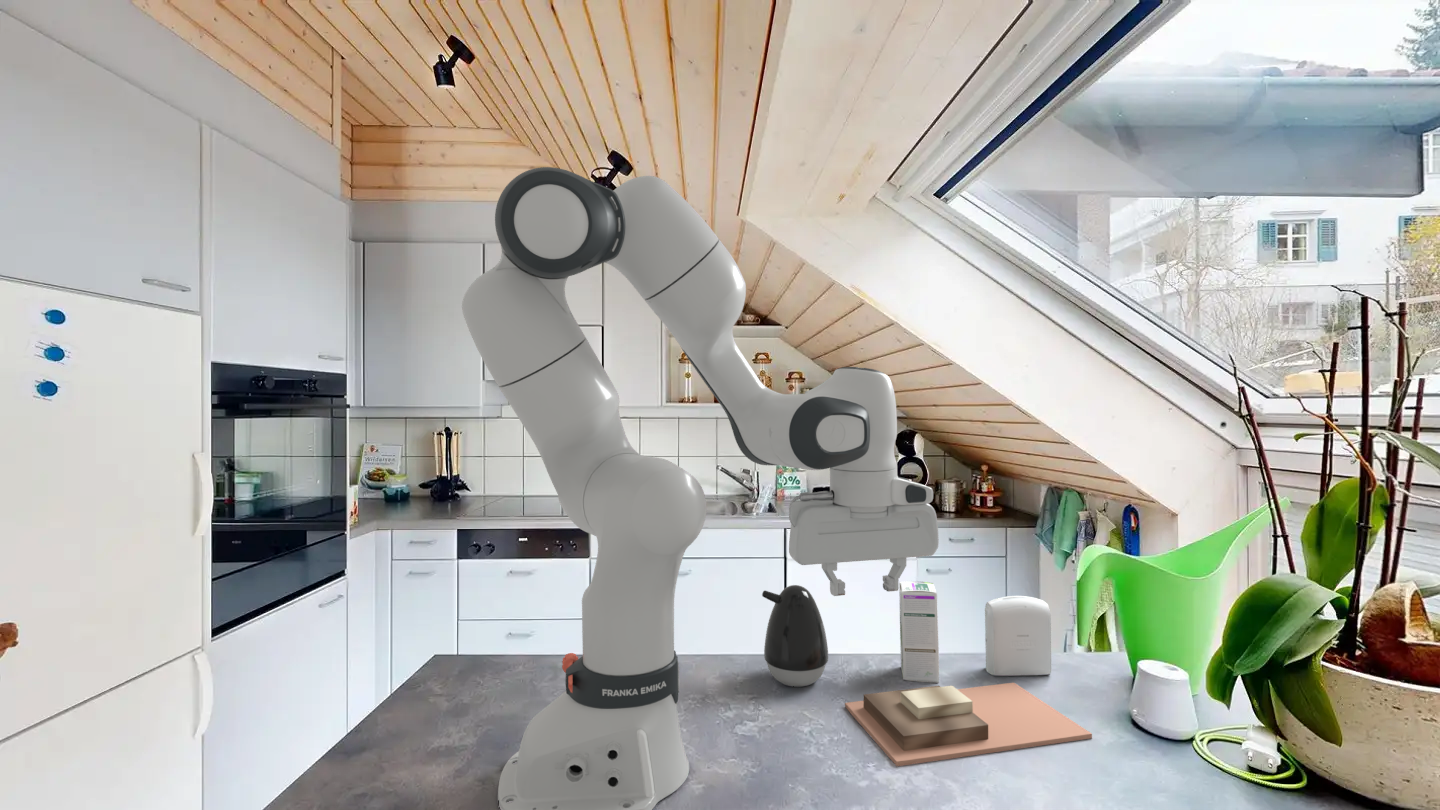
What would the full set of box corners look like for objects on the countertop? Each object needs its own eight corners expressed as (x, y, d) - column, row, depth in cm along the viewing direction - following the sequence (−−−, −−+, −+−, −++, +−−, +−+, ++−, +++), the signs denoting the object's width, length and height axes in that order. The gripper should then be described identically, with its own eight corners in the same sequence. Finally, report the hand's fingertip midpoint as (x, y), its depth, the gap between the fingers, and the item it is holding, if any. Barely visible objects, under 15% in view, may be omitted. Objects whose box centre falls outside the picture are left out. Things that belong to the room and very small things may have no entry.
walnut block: (903, 755, 85) (903, 736, 85) (863, 711, 97) (863, 694, 96) (988, 743, 87) (988, 724, 87) (939, 702, 99) (939, 685, 99)
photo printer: (991, 678, 107) (991, 601, 107) (981, 667, 112) (980, 593, 111) (1056, 677, 107) (1055, 600, 107) (1043, 666, 111) (1043, 592, 111)
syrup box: (940, 683, 105) (939, 591, 105) (901, 680, 107) (900, 590, 106) (935, 668, 111) (935, 581, 111) (899, 666, 112) (898, 580, 112)
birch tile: (918, 719, 89) (918, 708, 89) (900, 702, 94) (900, 691, 94) (972, 712, 91) (972, 701, 91) (952, 695, 96) (952, 685, 96)
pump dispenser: (762, 666, 113) (761, 576, 112) (824, 666, 112) (823, 576, 112) (764, 694, 103) (762, 595, 102) (832, 694, 102) (831, 595, 102)
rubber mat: (896, 766, 82) (896, 761, 82) (845, 706, 98) (845, 702, 98) (1092, 738, 88) (1091, 733, 88) (1013, 686, 104) (1013, 682, 104)
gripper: (796, 496, 84) (798, 606, 84) (944, 489, 88) (945, 593, 89) (781, 489, 90) (782, 591, 91) (920, 482, 95) (921, 580, 95)
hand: (864, 592), depth 90 cm, fingers open, 6 cm apart
